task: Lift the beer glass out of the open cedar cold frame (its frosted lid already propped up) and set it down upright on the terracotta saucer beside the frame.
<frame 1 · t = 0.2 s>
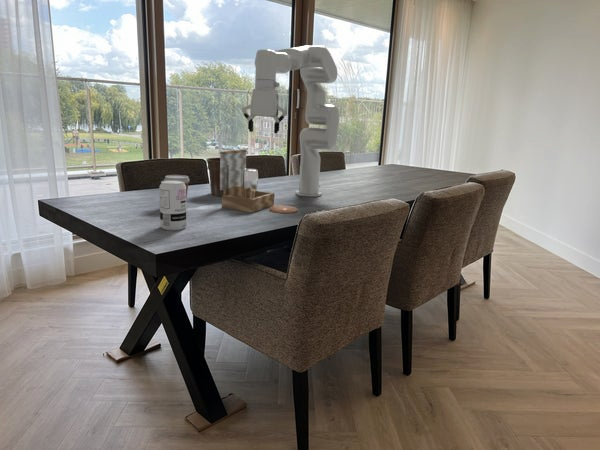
hand: (263, 132, 170), 30 cm above the table, tool pointing down, fingers open, 9 cm apart
disposable coffee cup: (177, 207, 175), on the table
beer glass: (248, 206, 184), resting in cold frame
supplement can: (173, 228, 146), on the table
saucer: (283, 210, 180), on the table
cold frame: (248, 206, 184), on the table
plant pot: (224, 194, 206), on the table
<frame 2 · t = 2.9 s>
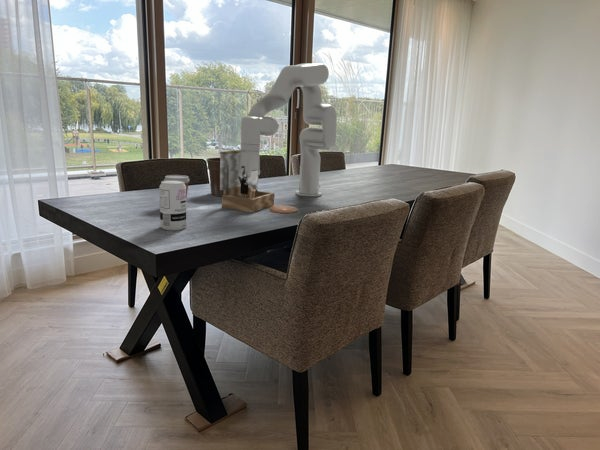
hand: (249, 192, 183), 6 cm above the table, tool pointing down, fingers closed on beer glass, 6 cm apart
beer glass: (248, 206, 184), resting in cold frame, touching gripper
everything else where it was.
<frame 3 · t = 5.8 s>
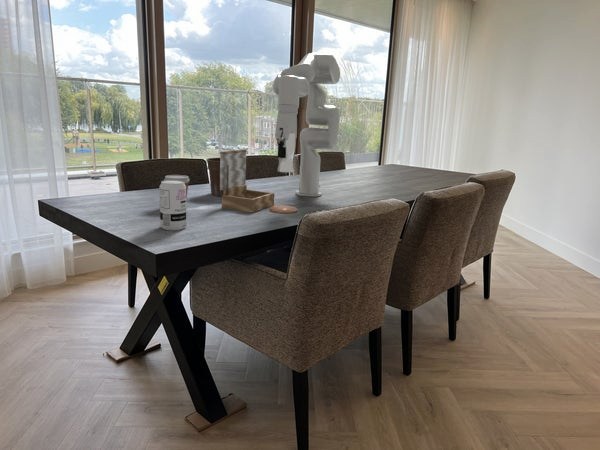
hand: (285, 156, 175), 21 cm above the table, tool pointing down, fingers closed on beer glass, 6 cm apart
beer glass: (285, 171, 176), point 15 cm above the table, touching gripper
everything else where it was.
when the fingers open (8 cm above the table, at t = 8.8 s): beer glass drops 1 cm, resting on saucer.
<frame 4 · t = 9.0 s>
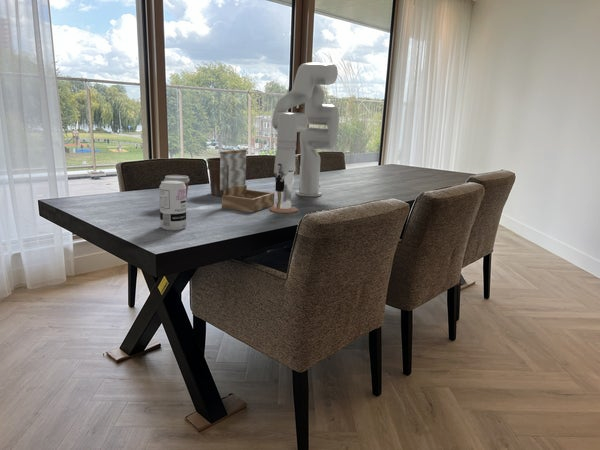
hand: (284, 189, 178), 8 cm above the table, tool pointing down, fingers open, 8 cm apart
beer glass: (283, 208, 180), point 1 cm above the table, touching saucer
everything else where it was.
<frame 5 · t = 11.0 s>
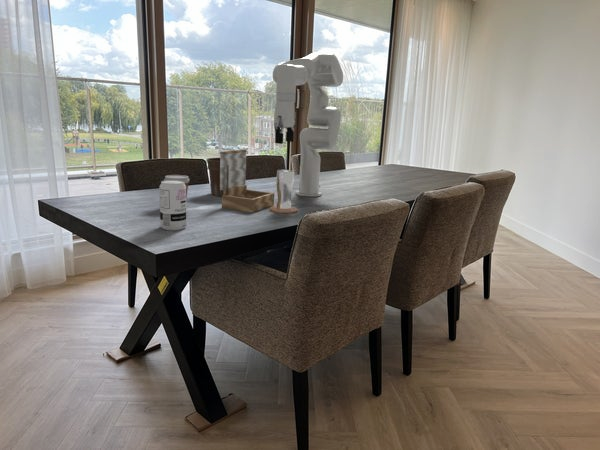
hand: (284, 142, 179), 26 cm above the table, tool pointing down, fingers open, 9 cm apart
nothing on the table moved.
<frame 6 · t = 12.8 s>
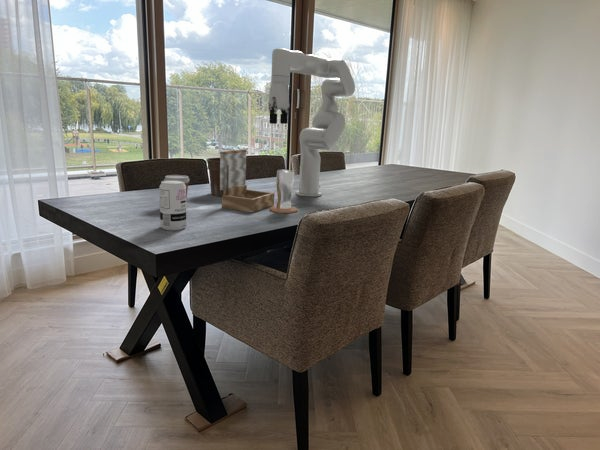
hand: (278, 123, 189), 33 cm above the table, tool pointing down, fingers open, 9 cm apart
nothing on the table moved.
at the end: beer glass 0.3 cm from the saucer (horizontally); beer glass tilted 0°; beer glass point 0.6 cm above the table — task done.
